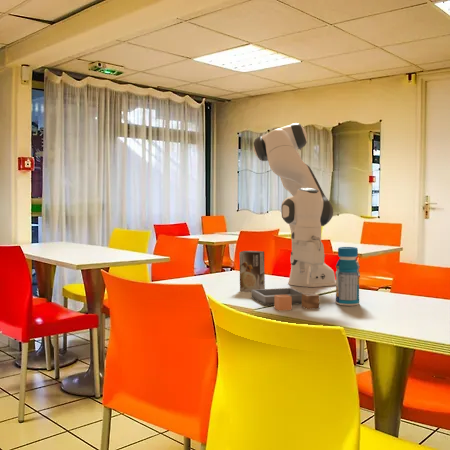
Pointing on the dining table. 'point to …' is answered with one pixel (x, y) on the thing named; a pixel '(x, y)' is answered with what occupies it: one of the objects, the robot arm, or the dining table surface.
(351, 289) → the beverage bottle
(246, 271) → the coffee box
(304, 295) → the walnut block
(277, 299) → the terracotta block
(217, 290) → the dining table surface
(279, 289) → the tray
